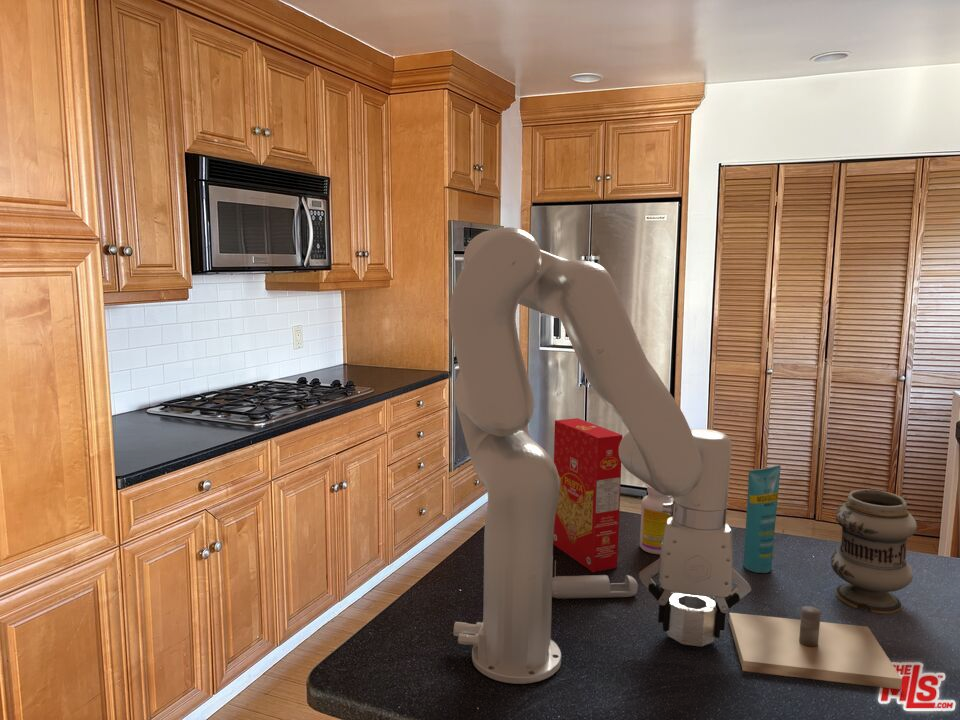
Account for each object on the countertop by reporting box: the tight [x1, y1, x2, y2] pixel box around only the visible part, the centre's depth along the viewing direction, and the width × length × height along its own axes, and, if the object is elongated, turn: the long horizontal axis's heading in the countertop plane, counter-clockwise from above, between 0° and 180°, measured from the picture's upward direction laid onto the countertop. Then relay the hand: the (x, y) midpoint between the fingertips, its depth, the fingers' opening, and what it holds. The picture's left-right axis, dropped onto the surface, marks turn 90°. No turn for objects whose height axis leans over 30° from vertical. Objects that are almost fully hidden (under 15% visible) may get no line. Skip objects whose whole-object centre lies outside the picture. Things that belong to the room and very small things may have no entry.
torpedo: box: [552, 560, 639, 600], centre depth 121 cm, size 18×5×7 cm, turn 94°
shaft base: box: [728, 605, 903, 690], centre depth 104 cm, size 20×14×6 cm
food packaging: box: [553, 417, 623, 573], centre depth 137 cm, size 15×5×25 cm, turn 25°
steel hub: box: [666, 593, 717, 647], centre depth 107 cm, size 7×7×5 cm
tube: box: [743, 464, 781, 574], centre depth 132 cm, size 7×5×19 cm, turn 120°
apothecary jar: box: [830, 488, 918, 614], centre depth 120 cm, size 12×12×18 cm
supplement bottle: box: [639, 484, 673, 555], centre depth 141 cm, size 7×7×13 cm
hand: (690, 629), depth 107 cm, fingers closed on steel hub, 6 cm apart
